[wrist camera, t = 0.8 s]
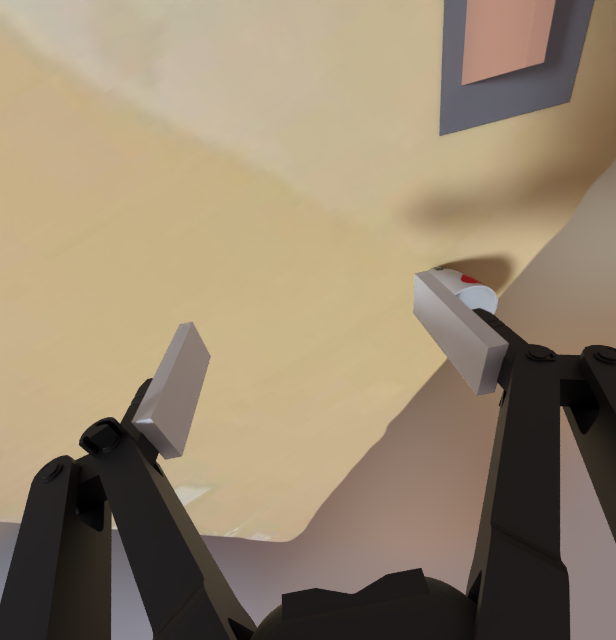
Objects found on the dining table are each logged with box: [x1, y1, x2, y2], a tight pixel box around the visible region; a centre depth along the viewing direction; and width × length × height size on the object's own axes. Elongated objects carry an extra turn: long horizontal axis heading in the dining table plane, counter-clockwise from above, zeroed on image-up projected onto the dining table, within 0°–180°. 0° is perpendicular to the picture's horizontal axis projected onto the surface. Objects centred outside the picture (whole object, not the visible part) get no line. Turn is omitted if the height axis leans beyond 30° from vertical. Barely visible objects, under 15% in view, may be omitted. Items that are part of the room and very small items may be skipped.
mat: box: [439, 0, 594, 136], centre depth 30 cm, size 16×16×1 cm
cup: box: [428, 267, 498, 314], centre depth 43 cm, size 8×8×10 cm
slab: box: [461, 0, 556, 86], centre depth 26 cm, size 7×2×10 cm, turn 13°
